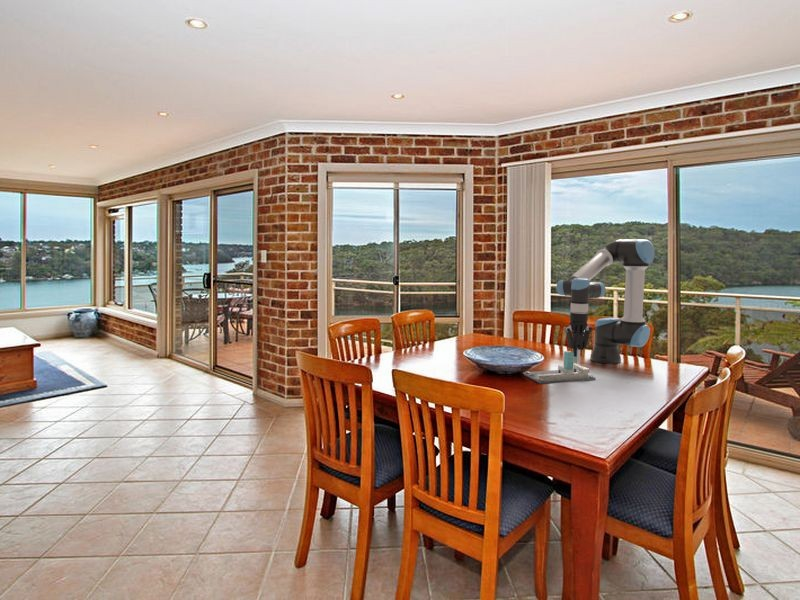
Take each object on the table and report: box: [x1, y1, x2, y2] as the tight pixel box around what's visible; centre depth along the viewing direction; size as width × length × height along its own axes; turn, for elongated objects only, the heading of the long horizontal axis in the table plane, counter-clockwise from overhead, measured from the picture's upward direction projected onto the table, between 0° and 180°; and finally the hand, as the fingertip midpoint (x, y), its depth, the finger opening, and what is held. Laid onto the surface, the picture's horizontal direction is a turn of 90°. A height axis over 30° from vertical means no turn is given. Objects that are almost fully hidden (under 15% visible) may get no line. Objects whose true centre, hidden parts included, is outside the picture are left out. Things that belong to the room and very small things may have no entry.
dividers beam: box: [537, 363, 591, 380], centre depth 218 cm, size 25×10×4 cm, turn 103°
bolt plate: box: [522, 367, 596, 385], centre depth 221 cm, size 28×16×2 cm, turn 103°
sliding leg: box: [557, 350, 574, 374], centre depth 218 cm, size 3×10×12 cm, turn 13°
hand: (576, 363), depth 217 cm, fingers closed
